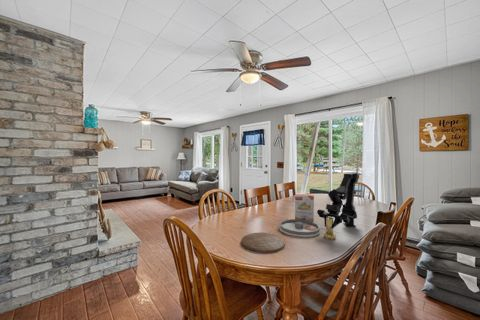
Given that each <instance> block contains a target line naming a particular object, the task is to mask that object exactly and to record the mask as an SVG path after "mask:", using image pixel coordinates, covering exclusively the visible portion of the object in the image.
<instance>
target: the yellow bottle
mask: <svg viewBox="0 0 480 320" xmlns="http://www.w3.org/2000/svg"><path fill="white" fill-rule="evenodd" d="M333 222H334V217H327V218H326V227H325V232H323V238H324V239H326V240H336V237H337V236H336V234H335V233H334V228H333V229H332V225H333Z"/></svg>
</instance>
